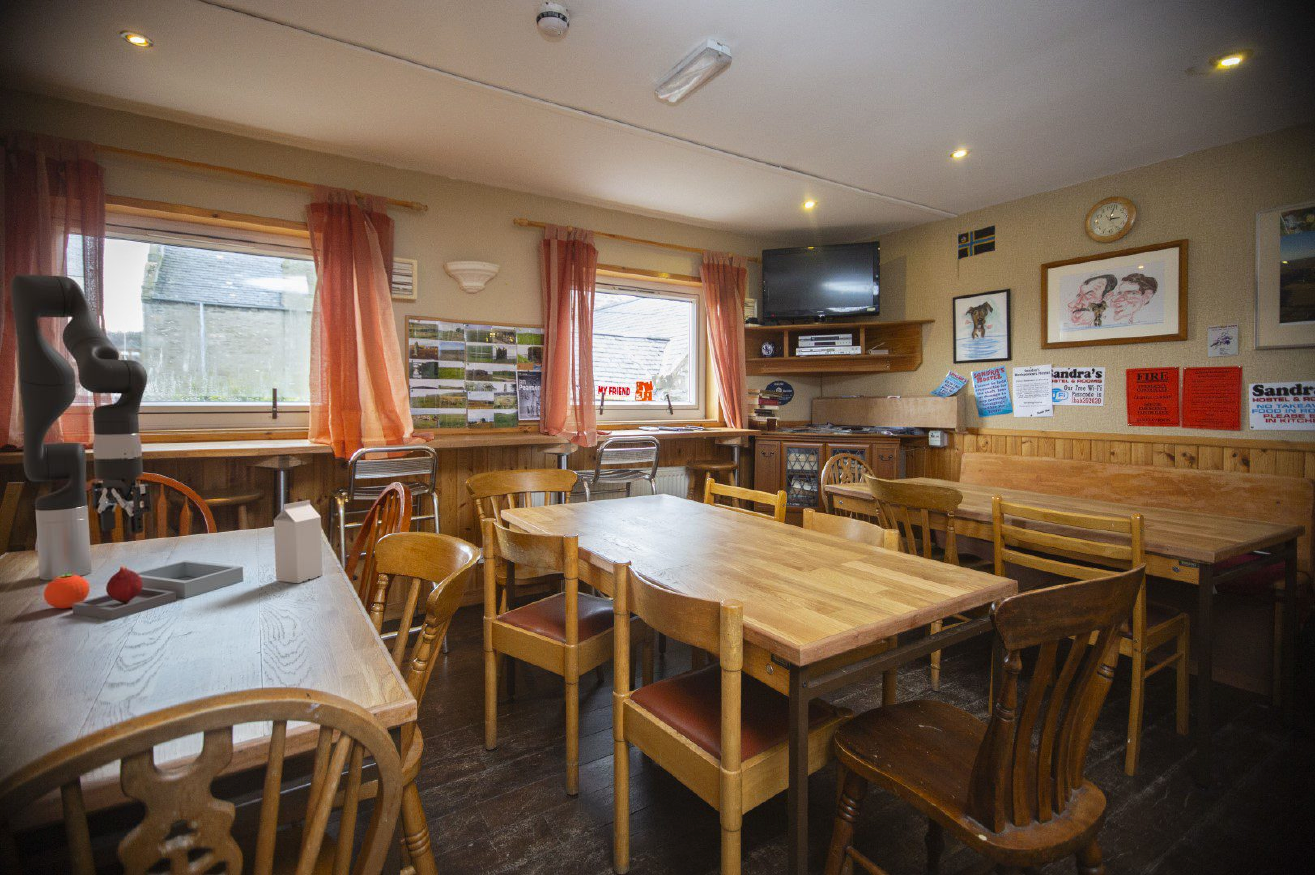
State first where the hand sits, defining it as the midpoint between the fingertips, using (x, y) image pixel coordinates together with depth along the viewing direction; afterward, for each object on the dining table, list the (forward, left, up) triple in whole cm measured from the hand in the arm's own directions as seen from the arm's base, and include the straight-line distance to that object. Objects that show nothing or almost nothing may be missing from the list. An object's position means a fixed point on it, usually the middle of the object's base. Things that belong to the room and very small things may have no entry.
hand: (122, 531), depth 127 cm
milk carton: (+18, +27, -16) cm, 36 cm away
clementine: (-12, -4, -16) cm, 21 cm away
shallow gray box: (-3, +14, -16) cm, 22 cm away
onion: (0, 0, -16) cm, 16 cm away
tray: (0, 0, -16) cm, 16 cm away
